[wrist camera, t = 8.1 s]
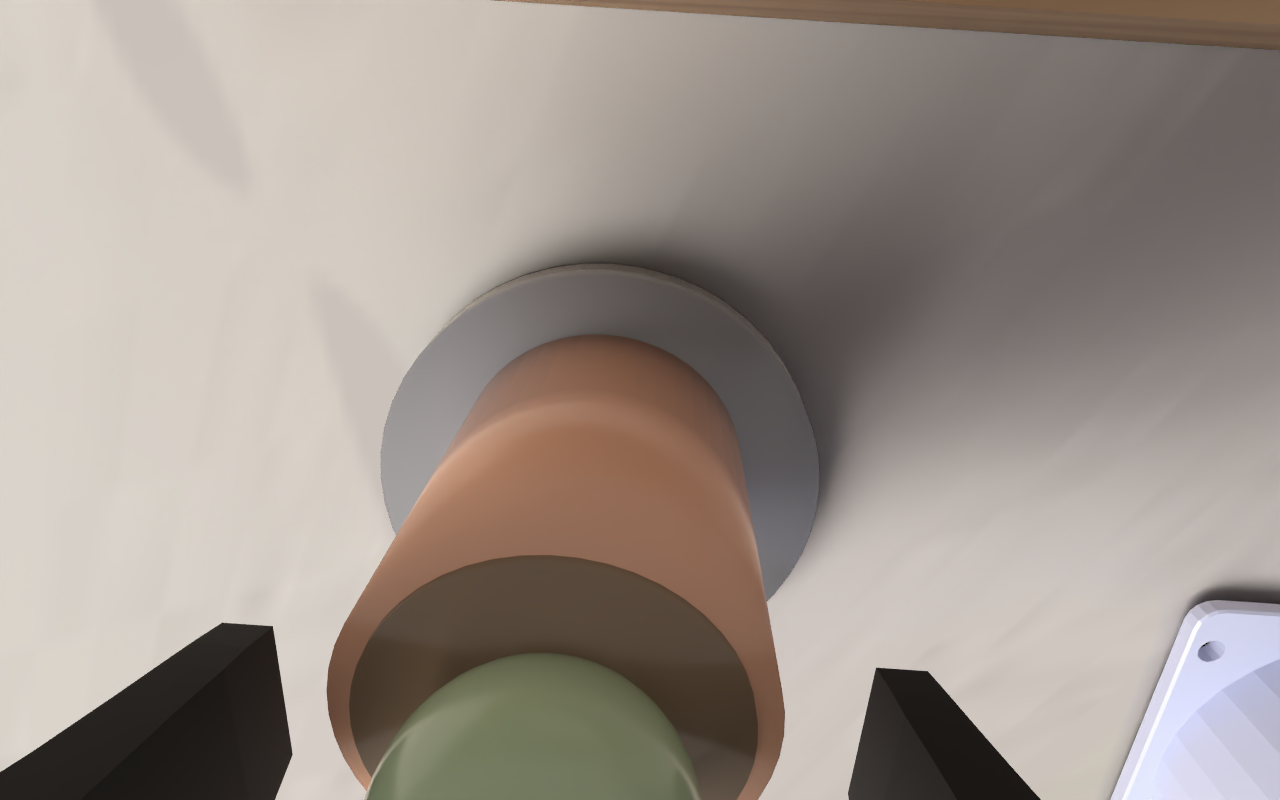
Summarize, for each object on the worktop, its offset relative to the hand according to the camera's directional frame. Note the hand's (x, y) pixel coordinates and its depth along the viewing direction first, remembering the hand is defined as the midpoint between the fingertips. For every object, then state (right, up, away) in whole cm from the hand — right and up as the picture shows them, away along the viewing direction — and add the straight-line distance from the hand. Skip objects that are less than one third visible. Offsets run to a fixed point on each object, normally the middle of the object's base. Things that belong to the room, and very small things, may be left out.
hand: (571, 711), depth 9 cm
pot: (0, +3, +5) cm, 5 cm away
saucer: (0, +2, +6) cm, 6 cm away
